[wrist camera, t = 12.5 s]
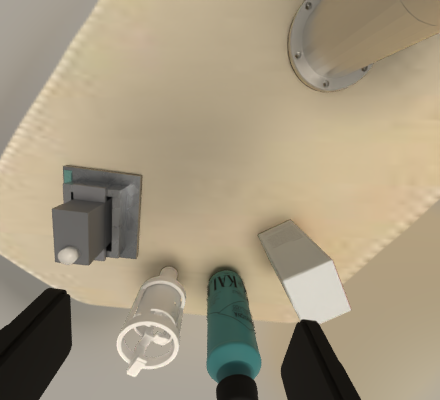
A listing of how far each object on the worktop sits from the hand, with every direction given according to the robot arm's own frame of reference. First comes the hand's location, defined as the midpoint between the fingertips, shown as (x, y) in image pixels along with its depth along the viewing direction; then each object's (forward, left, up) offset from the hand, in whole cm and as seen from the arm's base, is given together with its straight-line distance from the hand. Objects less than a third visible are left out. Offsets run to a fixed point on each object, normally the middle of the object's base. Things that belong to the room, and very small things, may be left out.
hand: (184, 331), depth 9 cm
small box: (+8, +15, -27) cm, 32 cm away
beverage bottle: (+16, +6, -27) cm, 32 cm away
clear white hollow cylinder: (+16, -4, -27) cm, 32 cm away
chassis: (+6, -15, -27) cm, 31 cm away
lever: (+6, -15, -26) cm, 30 cm away
